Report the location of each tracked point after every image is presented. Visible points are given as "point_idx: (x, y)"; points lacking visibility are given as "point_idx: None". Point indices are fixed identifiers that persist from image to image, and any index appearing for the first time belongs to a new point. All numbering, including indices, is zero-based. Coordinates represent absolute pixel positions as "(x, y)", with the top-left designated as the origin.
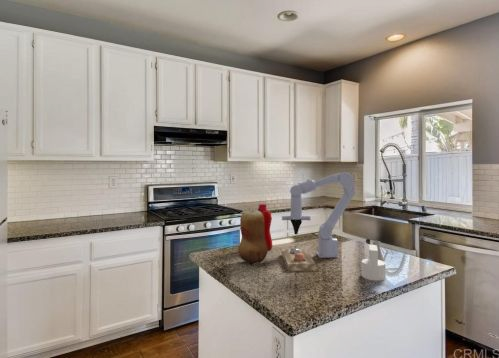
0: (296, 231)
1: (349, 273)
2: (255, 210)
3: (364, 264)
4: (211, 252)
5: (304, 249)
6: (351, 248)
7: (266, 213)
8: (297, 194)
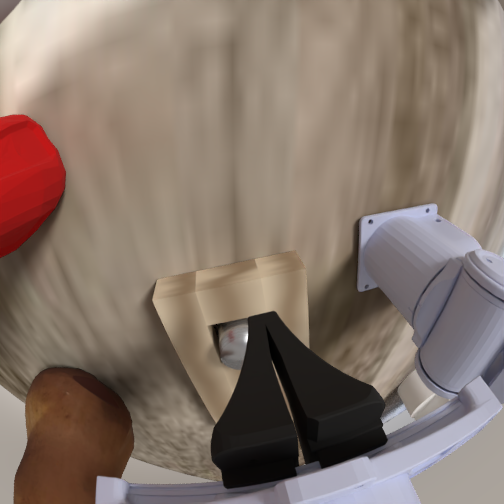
0: (275, 367)
1: (383, 384)
2: None
3: (410, 414)
4: None
5: (300, 279)
6: (497, 123)
7: None
8: None
